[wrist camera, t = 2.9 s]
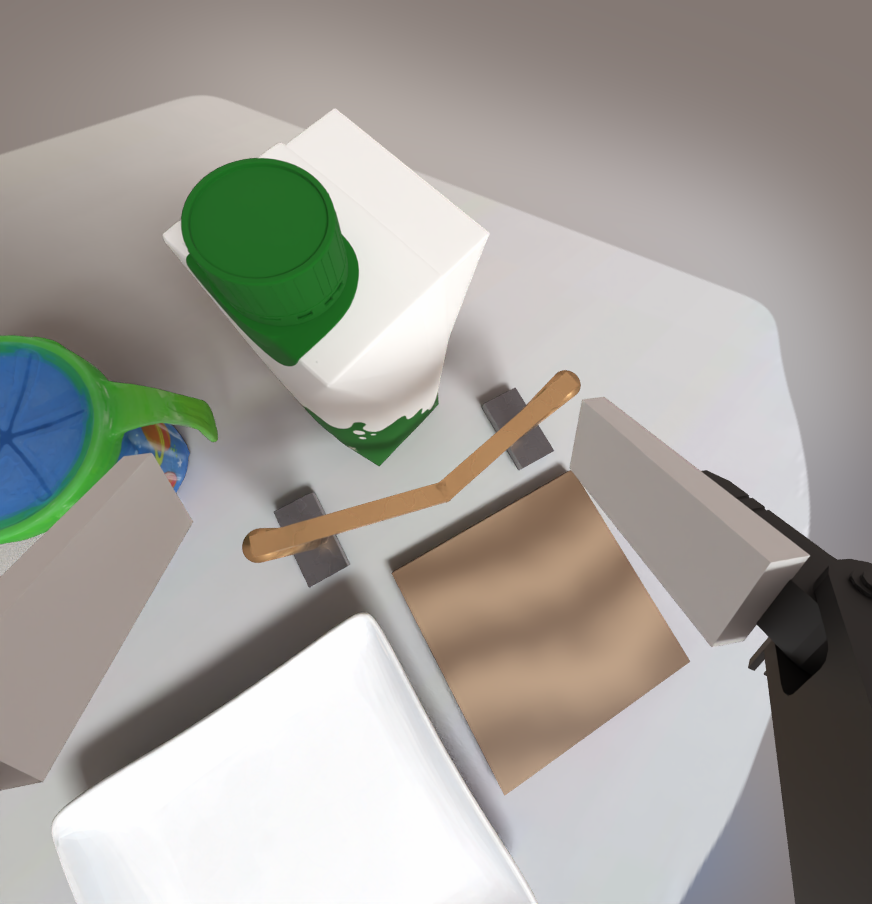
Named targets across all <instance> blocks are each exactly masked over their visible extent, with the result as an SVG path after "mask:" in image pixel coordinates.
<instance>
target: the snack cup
mask: <svg viewBox="0 0 872 904" xmlns="http://www.w3.org/2000/svg"><path fill="white" fill-rule="evenodd" d="M171 424H172V425H180V426H185V427H191V428H194V429H198V430H199V431H200V432H201V433H202V434H203V435H204V436H205V437H206V438H207V439H209V440H210V441H211V442H216V441H217V440H218V434H217V428H216V424H215V420H214V416H213V413H212V411H211V409H210V407H209V405H208V404H207V403H206V402H205V401H203V400H199V399H196V398H192V397H188V396H184V395H179V394H176V393H172V392H168V391H164V390H160V389H156V388H152V387H146V386H140V385H135V384H127V383H118V382H112V381H108V380H107V378H106V377H105V376H104V375H103V374H102V373H101V372H100V371H99V370H98V369H97V368H96V367H95V366H93V365H92V364H91V363H89V362H88V361H86V360H84V359H83V358H82V357H80V356H78V355H77V354H75V353H73V352H71V351H70V350H67V349H66V348H65V347H64V346H62V345H61V344H59V343H57V342H55V341H53V340H50V339H45V338H41V337H24V336H15V335H8V336H0V544H4V543H10V542H17V541H22V540H26V539H29V538H31V537H35V536H37V535H39V534H42V533H45V532H47V531H48V530H49V529H50V528H51V527H52V526H53V525H54V524H55V523H56V522H57V521H58V520H59V519H60V518H61V517H62V516H63V515H64V514H65V513H66V512H67V511H68V510H69V509H70V508H71V507H72V506H73V505H74V504H75V503H77V502H78V501H79V500H80V499H81V498H82V497H83V496H84V495H85V494H86V493H87V492H88V491H89V490H90V489H91V488H92V487H93V486H94V485H95V484H96V483H97V482H98V481H99V480H100V479H101V478H102V477H103V476H104V475H105V474H106V473H107V472H108V471H109V470H110V469H111V468H112V467H113V466H114V465H115V464H116V463H117V462H118V461H119V460H120V459H122V458H123V457H124V456H131V455H139V454H147V453H152V454H153V455H154V457H155V459H156V460H157V462H158V464H159V465H160V467H161V469H162V470H163V472H164V474H165V475H166V477H167V479H168V481H169V482H170V484H171V486H172V487H173V489H174V491H175V492H177V490H178V488H179V486H180V485H181V483H182V481H183V479H184V477H185V474H186V471H187V466H188V457H189V454H190V452H189V450H188V448H187V444H186V443H185V442H184V441H183V439H182V437H181V435H180V434H179V433H178V431H177V430H176V429H175V428H174V427H173V426H172V425H171Z"/></svg>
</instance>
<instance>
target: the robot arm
mask: <svg viewBox="0 0 872 904" xmlns="http://www.w3.org/2000/svg"><path fill="white" fill-rule="evenodd" d="M570 469H571V471H572V472H573V473H574V475H575V476H576V477H577V478H578V480H579V481H580V482H581V483H582V485H583V486H584V487H585V488H586V490H587V491H588V492H589V493H590V495H591V496H592V497H593V498H594V500H595V501H596V502H597V504H598V505H599V506H600V507H601V509H602V510H603V511H604V512H605V514H606V515H607V516H608V517H609V519H610V520H611V521H612V522H613V524H614V525H615V526H616V527H617V529H618V530H619V531H620V533H621V534H622V535H623V536H624V538H625V539H626V540H627V541H628V543H629V544H630V545H631V546H632V548H633V549H634V550H635V551H636V553H637V554H638V555H639V556H640V558H641V559H642V560H643V562H644V563H645V564H646V565H647V567H648V568H649V569H650V570H651V572H652V573H653V574H654V575H655V577H656V578H657V579H658V580H659V582H660V583H661V584H662V585H663V587H664V588H665V589H666V591H667V592H668V593H669V594H670V596H671V597H672V598H673V599H674V601H675V602H676V603H677V604H678V606H679V607H680V608H681V609H682V611H683V612H684V613H685V614H686V616H687V617H688V618H689V620H690V621H691V622H692V623H693V625H694V626H695V627H696V628H697V630H698V631H699V632H700V633H701V635H702V636H703V637H704V638H705V640H706V641H707V642H708V643H709V645H710V646H711V647H716V646H721V645H726V644H731V643H736V642H741V641H744V640H745V639H746V638H747V636H748V635H749V634H750V633H751V631H752V630H753V629H754V627H755V626H756V625H758V626H759V627H760V628H761V629H762V630H763V631H764V632H765V633H766V635H767V636H768V638H767V640H766V641H765V642H764V643H763V644H762V646H761V647H760V648H759V649H758V650H757V652H756V653H755V654H754V655H753V656H752V658H751V659H750V661H749V666H748V668H749V669H751V670H754V671H755V670H756V668H757V667H758V666H759V665H760V664H761V663H762V662H763V661H764V659H765V664H766V671H765V672H764V675H766V676H767V680H768V688H769V696H770V704H771V712H772V720H773V728H774V736H775V744H776V752H777V760H778V768H779V776H780V784H781V793H782V801H783V809H784V817H785V825H786V833H787V840H788V849H789V857H790V865H791V872H792V880H793V888H794V897H795V904H872V564H871V563H869V562H864V561H858V560H853V559H842V560H837V559H835V558H834V557H832V556H831V555H829V554H828V553H826V552H825V551H824V550H822V549H821V548H820V547H818V546H817V545H816V544H814V543H813V542H811V541H810V540H809V539H808V538H806V537H805V536H804V535H802V534H801V533H799V532H798V531H797V530H795V529H794V528H793V527H791V526H790V525H789V524H787V523H786V522H785V521H783V520H782V519H780V518H779V517H778V516H776V515H775V514H774V513H772V512H771V511H770V510H765V507H764V506H763V505H761V504H760V503H759V502H757V501H756V500H755V499H753V498H749V495H748V494H746V493H745V492H744V491H742V490H741V489H740V488H738V487H737V486H736V485H734V484H733V483H732V482H730V481H728V480H726V479H724V478H722V477H720V476H718V475H715V474H713V473H711V472H709V471H707V470H705V471H700V470H699V469H697V468H696V467H695V466H693V465H692V464H691V463H690V462H688V461H687V460H686V459H684V458H683V457H682V456H680V455H679V454H678V453H677V452H675V451H674V450H673V449H671V448H670V447H669V446H667V445H666V444H665V443H664V442H662V441H661V440H660V439H658V438H657V437H656V436H654V435H653V434H652V433H651V432H649V431H648V430H647V429H645V428H644V427H643V426H641V425H640V424H639V423H638V422H636V421H635V420H634V419H632V418H631V417H630V416H629V415H627V414H626V413H625V412H623V411H622V410H621V409H619V408H618V407H617V406H616V405H614V404H613V403H612V402H610V401H609V400H608V399H606V398H605V397H600V398H592V399H584V400H582V403H581V409H580V414H579V419H578V425H577V430H576V435H575V441H574V446H573V452H572V457H571V462H570ZM192 523H193V521H192V519H191V517H190V516H189V514H188V512H187V511H186V509H185V507H184V506H183V504H182V502H181V501H180V499H179V497H178V496H177V494H176V492H175V491H174V489H173V487H172V486H171V484H170V482H169V481H168V479H167V477H166V475H165V474H164V472H163V470H162V469H161V467H160V465H159V464H158V462H157V460H156V459H155V457H154V455H153V454H152V453H147V454H139V455H131V456H124V457H123V458H122V459H120V460H119V461H118V462H117V463H116V464H115V465H114V466H113V467H112V468H111V469H110V470H109V471H108V472H107V473H106V474H105V475H104V476H103V477H102V478H101V479H100V480H99V481H98V482H97V483H96V484H95V485H94V486H93V487H92V488H91V489H90V490H89V491H88V492H87V493H86V494H85V495H84V496H83V497H82V498H81V499H80V500H79V501H78V502H77V503H75V504H74V505H73V506H72V507H71V508H70V509H69V510H68V511H67V512H66V513H65V514H64V515H63V516H62V517H61V518H60V519H59V520H58V521H57V522H56V523H55V524H54V525H53V526H52V527H51V528H50V529H49V530H48V531H47V532H46V533H45V534H44V535H43V536H42V537H41V538H40V539H39V540H38V541H37V542H36V543H35V544H34V545H33V546H31V547H30V548H29V549H28V550H27V551H26V552H25V553H24V554H23V555H22V556H21V557H20V558H19V559H18V560H17V561H16V562H15V563H14V564H13V565H12V566H11V567H10V568H9V569H8V570H7V571H6V572H5V573H4V574H3V575H2V576H1V577H0V790H5V789H10V788H15V787H20V786H25V785H30V784H35V783H40V782H43V781H44V779H45V778H46V776H47V774H48V772H49V771H50V769H51V767H52V765H53V764H54V762H55V760H56V758H57V757H58V755H59V753H60V752H61V750H62V748H63V746H64V745H65V743H66V741H67V739H68V738H69V736H70V734H71V732H72V731H73V729H74V727H75V726H76V724H77V722H78V720H79V719H80V717H81V715H82V713H83V712H84V710H85V708H86V706H87V705H88V703H89V701H90V700H91V698H92V696H93V694H94V693H95V691H96V689H97V687H98V686H99V684H100V682H101V680H102V679H103V677H104V675H105V674H106V672H107V670H108V668H109V667H110V665H111V663H112V661H113V660H114V658H115V656H116V654H117V653H118V651H119V649H120V648H121V646H122V644H123V642H124V641H125V639H126V637H127V635H128V634H129V632H130V630H131V629H132V627H133V625H134V623H135V622H136V620H137V618H138V616H139V615H140V613H141V611H142V609H143V608H144V606H145V604H146V603H147V601H148V599H149V597H150V596H151V594H152V592H153V590H154V589H155V587H156V585H157V583H158V582H159V580H160V578H161V577H162V575H163V573H164V571H165V570H166V568H167V566H168V564H169V563H170V561H171V559H172V557H173V556H174V554H175V552H176V551H177V549H178V547H179V545H180V544H181V542H182V540H183V538H184V537H185V535H186V533H187V531H188V530H189V528H190V526H191V525H192Z"/></svg>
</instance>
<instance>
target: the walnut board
mask: <svg viewBox="0 0 872 904" xmlns="http://www.w3.org/2000/svg"><path fill="white" fill-rule="evenodd" d="M392 575H393V577H394V579H395V581H396V583H397V585H398V586H399V588H400V590H401V592H402V594H403V596H404V598H405V600H406V602H407V604H408V606H409V608H410V610H411V612H412V614H413V616H414V618H415V620H416V622H417V624H418V626H419V628H420V630H421V632H422V634H423V636H424V638H425V640H426V642H427V644H428V646H429V648H430V650H431V652H432V653H433V655H434V657H435V659H436V661H437V663H438V665H439V667H440V669H441V671H442V673H443V675H444V677H445V679H446V681H447V683H448V685H449V687H450V689H451V691H452V693H453V695H454V697H455V699H456V701H457V703H458V705H459V707H460V709H461V711H462V713H463V715H464V717H465V719H466V720H467V722H468V724H469V726H470V728H471V730H472V732H473V734H474V736H475V738H476V740H477V742H478V744H479V746H480V748H481V750H482V752H483V754H484V756H485V758H486V760H487V762H488V764H489V766H490V768H491V770H492V772H493V774H494V776H495V778H496V780H497V782H498V784H499V786H500V788H501V789H502V791H503V793H504V795H506V794H507V793H509V792H510V791H512V790H513V789H514V788H516V787H517V786H519V785H520V784H521V783H523V782H524V781H525V780H527V779H528V778H530V777H531V776H532V775H534V774H535V773H537V772H538V771H539V770H541V769H542V768H543V767H545V766H546V765H548V764H549V763H550V762H552V761H553V760H555V759H556V758H557V757H559V756H560V755H561V754H563V753H564V752H566V751H567V750H568V749H570V748H571V747H573V746H574V745H575V744H577V743H578V742H579V741H581V740H582V739H584V738H585V737H586V736H588V735H589V734H591V733H592V732H593V731H595V730H596V729H597V728H599V727H600V726H602V725H603V724H604V723H606V722H607V721H609V720H610V719H611V718H613V717H614V716H615V715H617V714H618V713H620V712H621V711H622V710H624V709H625V708H627V707H628V706H629V705H631V704H632V703H633V702H635V701H636V700H638V699H639V698H640V697H642V696H643V695H645V694H646V693H647V692H649V691H650V690H651V689H653V688H654V687H656V686H657V685H658V684H660V683H661V682H663V681H664V680H665V679H667V678H668V677H669V676H671V675H672V674H674V673H675V672H676V671H678V670H679V669H681V668H682V667H683V666H685V665H686V664H687V663H689V662H690V660H689V659H688V657H687V655H686V654H685V652H684V651H683V649H682V647H681V646H680V644H679V642H678V641H677V639H676V637H675V636H674V634H673V633H672V631H671V629H670V628H669V626H668V624H667V623H666V621H665V620H664V618H663V616H662V615H661V613H660V611H659V610H658V608H657V607H656V605H655V603H654V602H653V600H652V598H651V597H650V595H649V593H648V592H647V590H646V589H645V587H644V585H643V584H642V582H641V580H640V579H639V577H638V576H637V574H636V572H635V571H634V569H633V567H632V566H631V564H630V562H629V561H628V559H627V558H626V556H625V554H624V553H623V551H622V549H621V548H620V546H619V545H618V543H617V541H616V540H615V538H614V536H613V535H612V533H611V532H610V530H609V528H608V527H607V525H606V523H605V522H604V520H603V518H602V517H601V515H600V514H599V512H598V510H597V509H596V507H595V505H594V504H593V502H592V501H591V499H590V497H589V496H588V494H587V492H586V491H585V489H584V487H583V486H582V484H581V483H580V481H579V480H578V478H577V477H576V476H575V475H574V473H573V472H572V471H571V470H570V471H567V472H566V473H564V474H562V475H560V476H559V477H557V478H555V479H553V480H552V481H550V482H548V483H546V484H545V485H543V486H541V487H539V488H538V489H536V490H534V491H532V492H531V493H529V494H527V495H525V496H524V497H522V498H520V499H518V500H517V501H515V502H513V503H511V504H510V505H508V506H506V507H505V508H503V509H501V510H499V511H498V512H496V513H494V514H492V515H491V516H489V517H487V518H485V519H484V520H482V521H480V522H478V523H477V524H475V525H473V526H471V527H470V528H468V529H466V530H464V531H463V532H461V533H459V534H457V535H456V536H454V537H452V538H450V539H449V540H447V541H445V542H443V543H442V544H440V545H438V546H437V547H435V548H433V549H431V550H430V551H428V552H426V553H424V554H423V555H421V556H419V557H417V558H416V559H414V560H412V561H410V562H409V563H407V564H405V565H403V566H402V567H400V568H398V569H396V570H395V571H393V572H392Z"/></svg>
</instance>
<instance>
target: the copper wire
mask: <svg viewBox="0 0 872 904" xmlns="http://www.w3.org/2000/svg"><path fill="white" fill-rule="evenodd" d="M580 386H581V384H580V380H579V378H578V377H577V375H576V374H574V373H573V372H571V371H567V370H563V371H560V372H558V373H557V374H556V375H555V376H554V377H553V378H552V379H551V380H550V381H549V382H548V383H547V384H546V385H545V386H544V387H543V388H542V389H541V390H540V391H539V392H538V393H537V394H536V395H535V396H534V397H533V398H532V399H531V401H530V402H529V403H528V404H527V405H526V404H525V402H524V401H523V399H522V397H521V396H520V394H519V392H518V391H517V389H516V388H514V389H512V390H510V391H508V392H506V393H504V394H502V395H500V396H498V397H496V398H494V399H492V400H490V401H488V402H486V403H484V405H483V406H482V409H483V410H484V412H485V414H486V415H487V417H488V419H489V421H490V422H491V424H492V426H493V427H494V429H495V431H496V432H497V433H495V434H494V435H493V436H492V437H491V438H490V439H489V440H487V441H486V442H485V443H484V444H483V445H482V446H481V447H479V448H478V449H477V450H476V451H475V452H474V453H473V454H471V455H470V456H469V457H468V458H467V459H466V460H464V461H463V462H462V463H461V464H460V465H459V466H458V467H456V468H455V469H454V470H453V471H452V472H451V473H450V474H448V475H447V476H446V477H445V478H444V479H443V480H442V481H440V482H439V483H436V484H432V485H429V486H425V487H422V488H418V489H415V490H411V491H408V492H404V493H400V494H397V495H393V496H390V497H386V498H383V499H379V500H376V501H372V502H369V503H365V504H362V505H358V506H355V507H351V508H348V509H344V510H341V511H337V512H334V513H330V514H327V515H326V514H325V512H324V510H323V508H322V506H321V504H320V502H319V500H318V498H317V496H316V494H315V493H313V492H311V493H309V494H307V495H306V496H304V497H302V498H300V499H298V500H296V501H294V502H292V503H290V504H288V505H286V506H284V507H282V508H280V509H278V510H276V511H274V514H275V516H276V518H277V520H278V522H279V524H280V527H281V528H259V529H255V530H253V531H251V532H250V533H248V534H247V536H246V537H245V539H244V541H243V545H242V550H243V553H244V555H245V557H246V558H247V559H248V560H250V561H252V562H255V563H261V562H265V561H269V560H273V559H277V558H281V557H285V556H289V555H293V554H294V556H295V559H296V561H297V563H298V565H299V567H300V569H301V571H302V574H303V576H304V578H305V580H306V582H307V584H308V586H309V587H311V586H313V585H315V584H316V583H318V582H320V581H322V580H323V579H325V578H327V577H329V576H331V575H332V574H334V573H336V572H338V571H340V570H341V569H343V568H345V567H347V566H348V565H350V563H349V561H348V559H347V557H346V555H345V553H344V551H343V549H342V547H341V545H340V543H339V541H338V539H337V537H336V534H339V533H343V532H346V531H349V530H353V529H356V528H360V527H363V526H367V525H370V524H373V523H377V522H380V521H384V520H387V519H391V518H394V517H397V516H401V515H404V514H408V513H411V512H414V511H418V510H421V509H425V508H428V507H432V506H435V505H438V504H442V503H445V502H446V503H447V502H449V501H450V500H451V499H452V498H453V497H454V496H455V495H456V494H457V493H458V492H460V491H461V490H462V489H463V488H464V487H465V486H466V485H467V484H468V483H470V482H471V481H472V480H473V479H474V478H475V477H476V476H477V475H479V474H480V473H481V472H482V471H483V470H484V469H485V468H486V467H488V466H489V465H490V464H491V463H492V462H493V461H494V460H495V459H497V458H498V457H499V456H500V455H501V454H502V453H503V452H504V451H506V450H507V451H508V453H509V454H510V456H511V458H512V460H513V461H514V463H515V465H516V466H517V468H518V470H520V469H522V468H524V467H526V466H528V465H529V464H531V463H533V462H535V461H537V460H538V459H540V458H542V457H544V456H546V455H547V454H549V453H551V452H553V451H554V450H553V448H552V447H551V445H550V443H549V442H548V440H547V438H546V437H545V435H544V433H543V432H542V430H541V429H540V427H539V425H538V424H540V423H541V422H542V421H543V420H545V419H546V418H547V417H548V416H550V415H551V414H552V413H553V412H555V411H556V410H557V409H559V408H560V407H561V406H562V405H564V404H565V403H566V402H567V401H569V400H570V399H571V398H572V397H574V396H575V395H576V394H577V393H578V392H579V390H580Z"/></svg>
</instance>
